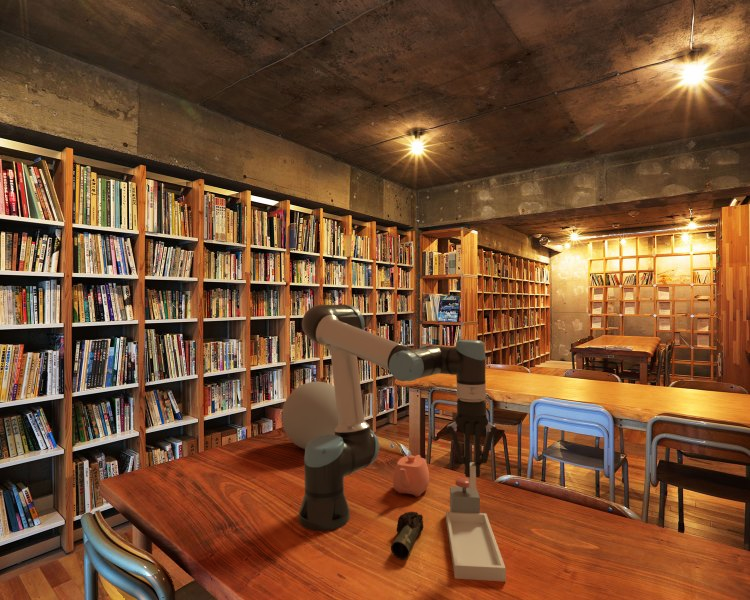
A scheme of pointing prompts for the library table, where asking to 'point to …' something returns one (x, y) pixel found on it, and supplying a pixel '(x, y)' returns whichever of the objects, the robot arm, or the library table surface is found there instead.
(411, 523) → the metal pipe
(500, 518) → the library table surface
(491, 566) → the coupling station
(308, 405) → the sphere
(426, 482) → the teapot
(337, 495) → the robot arm
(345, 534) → the library table surface
